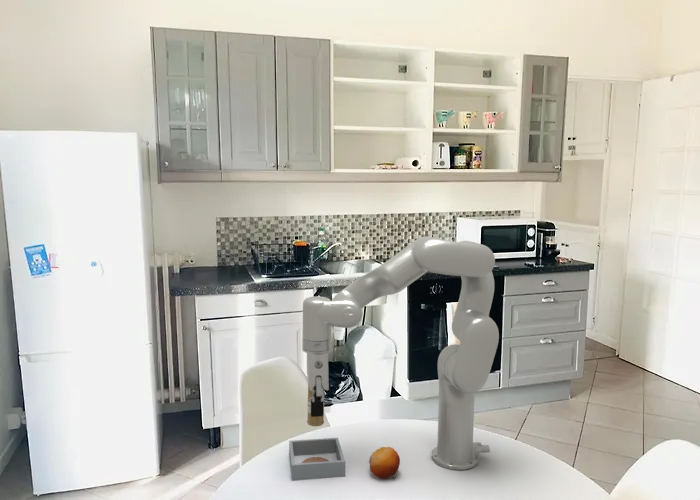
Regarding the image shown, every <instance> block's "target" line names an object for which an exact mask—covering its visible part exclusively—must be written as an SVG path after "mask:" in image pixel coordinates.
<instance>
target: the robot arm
mask: <svg viewBox="0 0 700 500" xmlns="http://www.w3.org/2000/svg"><path fill="white" fill-rule="evenodd" d="M495 264H496V258H495V255H494V252H493V250H492V249H491V248H490V247H488V246H487V245H484V244H481V243H479V242H478V243H477V242H475V241H470V240H461V241H451V240H445V239H442V238H441V239H440V238H437V237H432V236H422V237H419V238H417V239H415V240H414V241H412V242H411V243H410V244H408V245H407V246H406V247H404V248H403V249H401V250H400V251H399V252H397V253H396V254H394V255H393V256H392V257H391V258H389V259H388V260H386V261H385V262H383V263H382V264H381V265H379V266H378V267H376V268H374V269H372V270H371V271H369V272H368V273H365V274H364V275H362V276H360V277H359V278H357V279H356V280H354V281H353V282H352V283H350V284H349V285H347V286H346V287H345V288H343V289H342V290H341V291H339V292H338V293H336V294H335V296H333V298H332V300H331V299H330V298H328V297H326V296H317V295H315V296H309V297H306V298H304V300H303V302H302V337H301V338H302V342H301V343H302V346H301V347H302V349H301V350H302V351H303V352H304V353H306V376H307V377H306V378H307V385H308V384H309V388H310V390H311V391H312V401H311V416H312V417H317V416H323V402H324V403H325V400H324V401H323V388H324V391H329V389H330V384H329V381H330V379H329V356H328V355H329V354H328V353H330V352H331V351H332V327H337V328H344V329H350V328H354V327H356V326H357V325H359V324H360V323H361V321H362V318H363V308H364V307H366V306H368V305H369V304H370V303H372V302H373V301H375V300H377V299H379V298H382V297H384V296H390V295H395V294H398V293H400V292H402V291H403V290H404V289H406V288H407V287H409V286H410V285H411V284H413V283H414V282H415V281H417V280H418V279H419V278H421V277H422V276H423V275H425V274H426V273H428V272H430V273H433V274H440V275H446V276H447V275H448V276H453V277H454V276H456V277H460V278H461V289H460V293H459V298H458V302H457V305H456V309H455V312H454V315H453V318H452V321H451V332H452V334H453V335H454V337H455V338H456V339H457V340H458V341H460V342H459V344H449V345H448V346H445V347H444V348H443V349H442V350H441V351H440V353H439V355H438V358H437V377H438V418H437V419H438V420H437V446H435V447H433V449H432V450H431V452H430V453H431V459H432V461H433V462H434V463H435V464H437V466H440V467H443V468H445V469H449V470H458V471H465V470H469V469H472V468H474V467H475V466H477V465H478V463H479V454H481V453H483V454H484V453H485V454H486V453H490V452H491V447H490V445H489V444H484V445H483V444H482V442H481V441H479V442H478V441H477V442H474V424H475V423H474V422H475V421H474V420H475V401H476V400H475V399H476V397H475V394H476V393H478V392H479V391H481V390H482V388H483V387H484V386H485V385H486V383H487V381H488V379H489V376H490V372H491V370H492V366H493V363H494V359H495V356H496V353H497V349H498V345H499V339H500V333H499V327H498V325H497V324H496V322H495V320H493V318H491V317H490V310H491V308H492V303H493V299H494V293H495V279H494V278H495V277H494V275H493V269H494V267H495ZM314 387H316V389H314ZM314 392H316V394H315V395H314Z"/></svg>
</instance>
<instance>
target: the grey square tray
mask: <svg viewBox="0 0 700 500" xmlns="http://www.w3.org/2000/svg"><path fill="white" fill-rule="evenodd" d="M288 444H289V445H288V455H289V456H288V457H289V465H290V466H289V467H290V474H291V475H290V476H291V481H302V480H303V481H304V480H305V481H306V480H318V479H319V480H320V479H331V478H344V477H346V459H345V456H344V453H343V450H342V446H341V443H340V440H339V438H338V437H327V438H326V437H325V438H313V439H309V438H308V439H299V440H297V439H294V440H289V442H288ZM323 454H325V455H326V454H335V457H336V460H329V459H328V458H326V457H324V456H310V457H307V458H305V459H303V461H302V462H300V463H299V462H297V463H295V456H307V455H323Z"/></svg>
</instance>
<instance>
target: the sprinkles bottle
mask: <svg viewBox="0 0 700 500" xmlns="http://www.w3.org/2000/svg"><path fill="white" fill-rule="evenodd" d="M314 389H316V387H314ZM315 394H316V392H314V395H315ZM311 401H312V391H311V390H310V388H309V384H308V383H307V420H306V423H307V425H308V426H310V427H320V426H323V425H324V424H325V419H324V416H325V415H324V414H325V390H324V388H323V401H324V402H323V416H317V417H312V416H311Z"/></svg>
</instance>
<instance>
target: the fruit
mask: <svg viewBox="0 0 700 500" xmlns="http://www.w3.org/2000/svg"><path fill="white" fill-rule="evenodd" d="M368 463H369V470H370V472H371V474H373V475H374V476H375V477H376V478H378V479H380V480H381V479H382V480H387V479H395V476H396V474H397V473H398V472H399V469H400V468H399V467H400V464H401V459H400V455H399V453H398V452H397V451H396V450H395V449H394V448H393V447H391V446H382V447H379V448H377V449H376V450H374V451H373V452H372V453H371V455H370V456H369V461H368Z"/></svg>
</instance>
